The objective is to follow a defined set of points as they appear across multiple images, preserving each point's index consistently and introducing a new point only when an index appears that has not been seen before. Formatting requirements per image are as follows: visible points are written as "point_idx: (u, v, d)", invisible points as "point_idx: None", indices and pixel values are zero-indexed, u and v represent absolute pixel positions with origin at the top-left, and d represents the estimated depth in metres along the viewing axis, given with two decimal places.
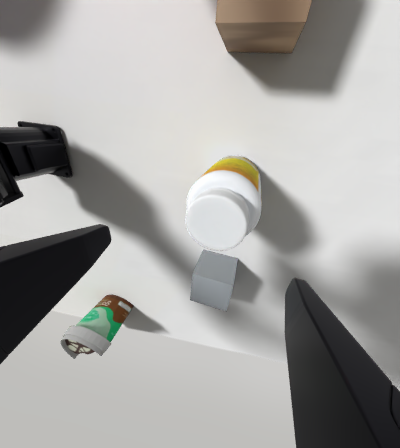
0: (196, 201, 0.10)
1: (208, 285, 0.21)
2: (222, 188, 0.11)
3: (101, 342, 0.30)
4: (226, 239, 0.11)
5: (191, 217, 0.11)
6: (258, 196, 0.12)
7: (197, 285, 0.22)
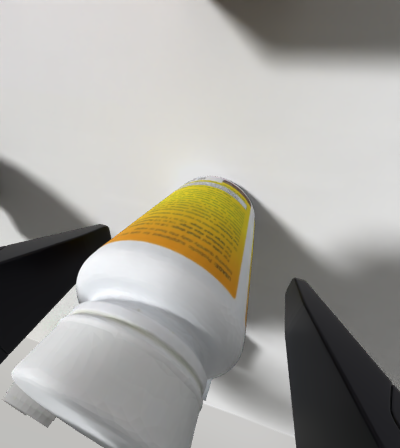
0: (15, 375, 0.03)
1: None
2: (119, 313, 0.04)
3: None
4: None
5: (30, 394, 0.04)
6: (234, 317, 0.04)
7: None
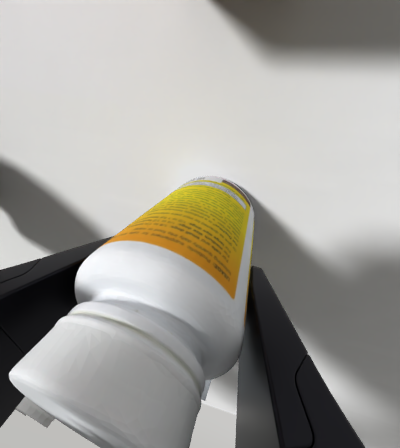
0: (12, 376, 0.03)
1: None
2: (117, 314, 0.04)
3: None
4: None
5: (27, 395, 0.04)
6: (233, 317, 0.04)
7: None
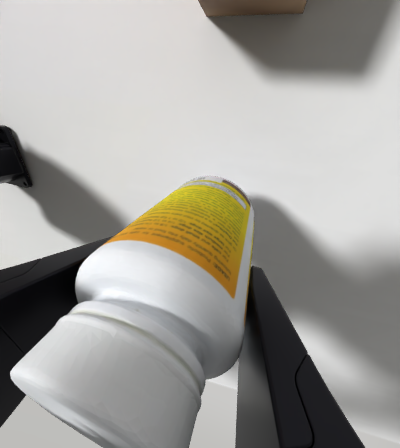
0: (13, 374, 0.03)
1: None
2: (118, 313, 0.04)
3: None
4: None
5: (28, 394, 0.04)
6: (233, 317, 0.04)
7: None
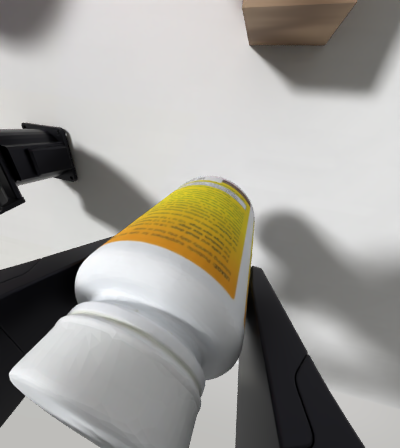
0: (12, 376, 0.03)
1: None
2: (117, 314, 0.04)
3: None
4: None
5: (27, 395, 0.04)
6: (232, 317, 0.04)
7: None
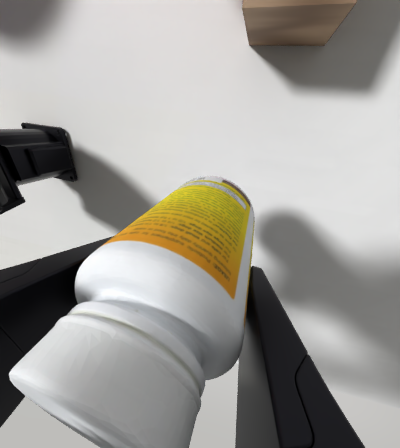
0: (12, 376, 0.03)
1: None
2: (117, 314, 0.04)
3: None
4: None
5: (27, 395, 0.04)
6: (232, 317, 0.04)
7: None
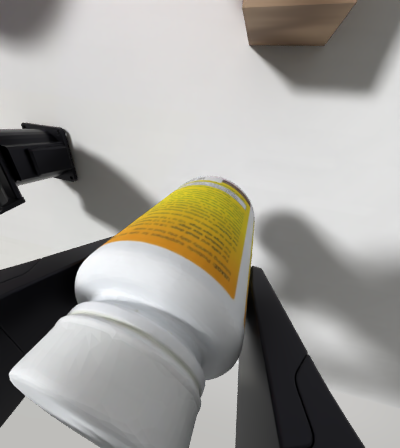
0: (12, 376, 0.03)
1: None
2: (117, 314, 0.04)
3: None
4: None
5: (27, 395, 0.04)
6: (232, 317, 0.04)
7: None
